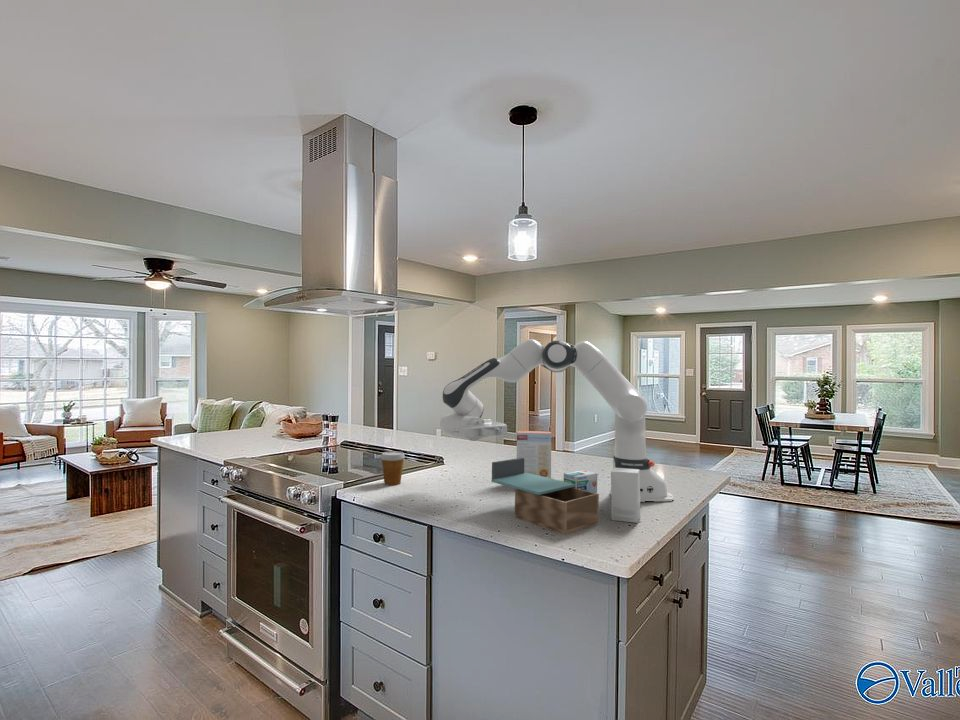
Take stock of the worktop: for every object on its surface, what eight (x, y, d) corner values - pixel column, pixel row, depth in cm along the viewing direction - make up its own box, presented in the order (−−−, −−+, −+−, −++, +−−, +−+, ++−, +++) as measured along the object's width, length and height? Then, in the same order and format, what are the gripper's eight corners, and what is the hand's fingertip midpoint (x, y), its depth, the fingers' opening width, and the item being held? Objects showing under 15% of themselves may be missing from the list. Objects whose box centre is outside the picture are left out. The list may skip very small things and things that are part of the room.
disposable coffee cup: (384, 480, 206) (385, 450, 206) (407, 481, 204) (408, 451, 204) (376, 485, 196) (377, 454, 196) (400, 487, 195) (401, 455, 195)
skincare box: (640, 518, 160) (641, 469, 160) (637, 524, 154) (638, 473, 154) (613, 514, 164) (614, 466, 164) (609, 520, 158) (610, 470, 158)
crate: (514, 517, 158) (515, 488, 159) (548, 508, 169) (548, 481, 169) (564, 534, 143) (565, 502, 144) (598, 523, 154) (598, 493, 154)
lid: (488, 480, 167) (488, 462, 167) (524, 474, 178) (524, 457, 178) (539, 495, 150) (539, 474, 150) (574, 486, 162) (575, 467, 162)
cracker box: (550, 481, 208) (551, 431, 208) (551, 485, 202) (551, 433, 202) (516, 480, 209) (517, 430, 209) (515, 484, 203) (516, 431, 203)
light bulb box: (576, 508, 170) (577, 476, 170) (562, 504, 175) (562, 472, 175) (597, 504, 176) (598, 473, 176) (583, 499, 181) (583, 469, 181)
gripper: (449, 421, 180) (474, 425, 170) (491, 418, 194) (517, 422, 183) (449, 439, 180) (474, 444, 170) (491, 434, 194) (517, 439, 183)
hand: (497, 432), depth 177 cm, fingers open, 2 cm apart
